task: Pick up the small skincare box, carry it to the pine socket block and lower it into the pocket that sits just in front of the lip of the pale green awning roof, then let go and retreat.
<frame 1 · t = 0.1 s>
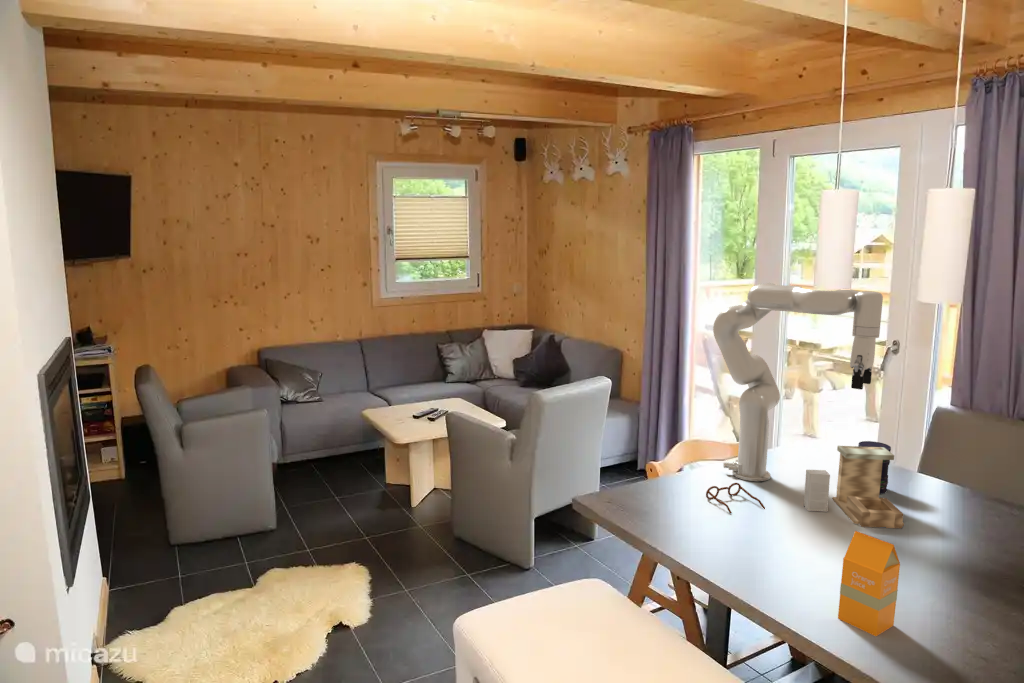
hand: (861, 386, 226), 37 cm above the table, tool pointing down, fingers open, 9 cm apart
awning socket: (873, 519, 217), on the table
orange juice: (865, 622, 162), on the table
skincare box: (814, 509, 225), on the table
glasses: (734, 506, 228), on the table
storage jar: (870, 489, 242), on the table
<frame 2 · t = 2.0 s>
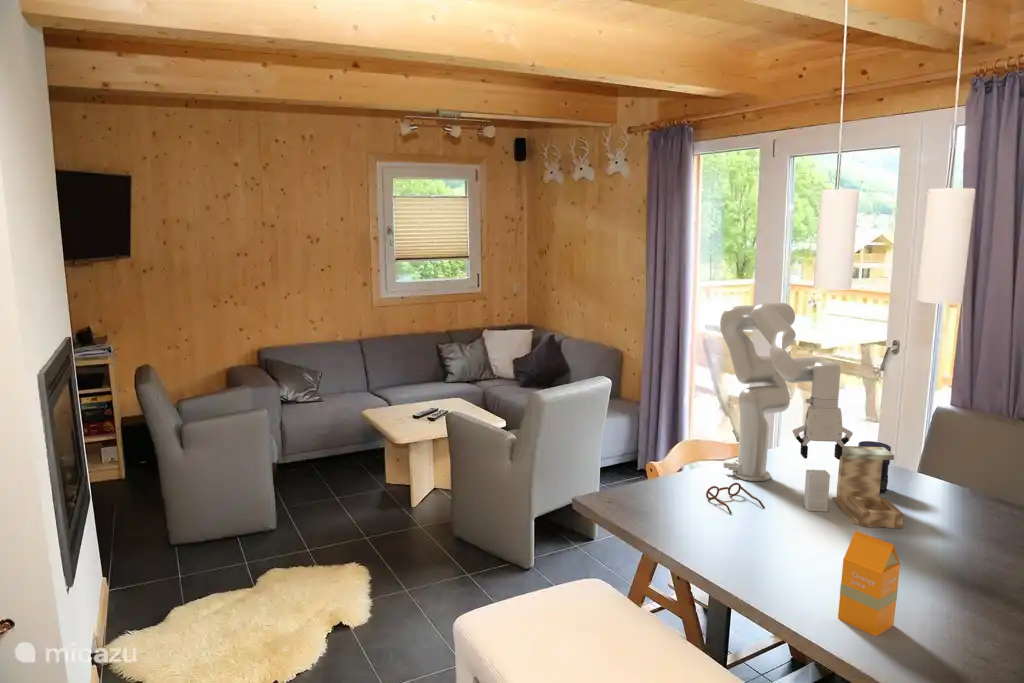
hand: (820, 457, 221), 17 cm above the table, tool pointing down, fingers open, 9 cm apart
nothing on the table moved.
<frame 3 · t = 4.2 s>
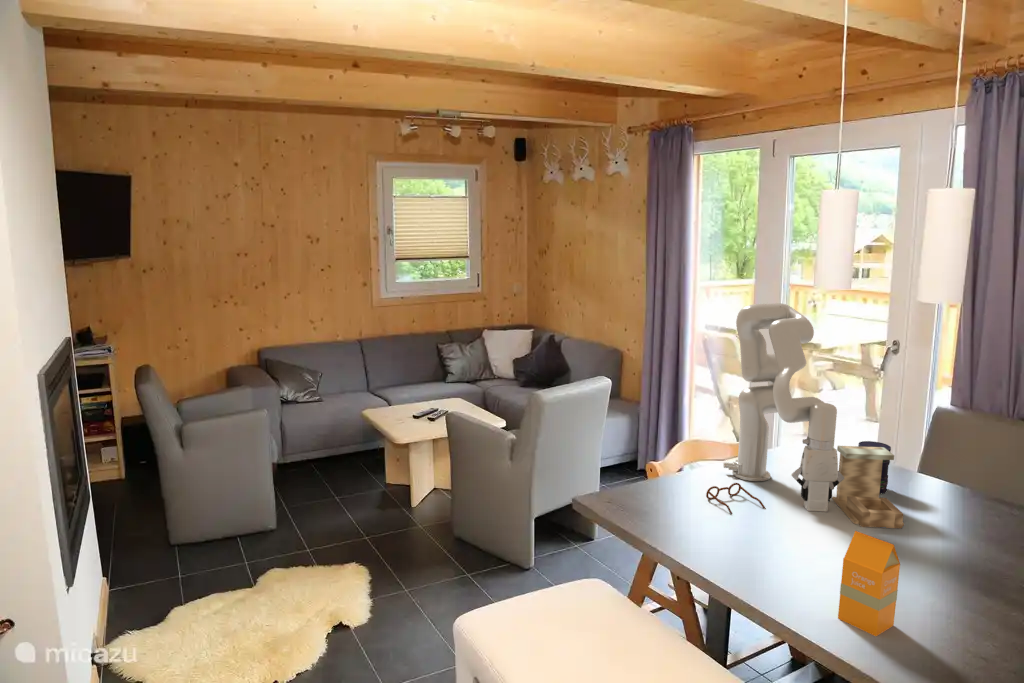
hand: (815, 499, 224), 3 cm above the table, tool pointing down, fingers closed on skincare box, 6 cm apart
skincare box: (814, 509, 225), on the table, touching gripper
everything else where it was.
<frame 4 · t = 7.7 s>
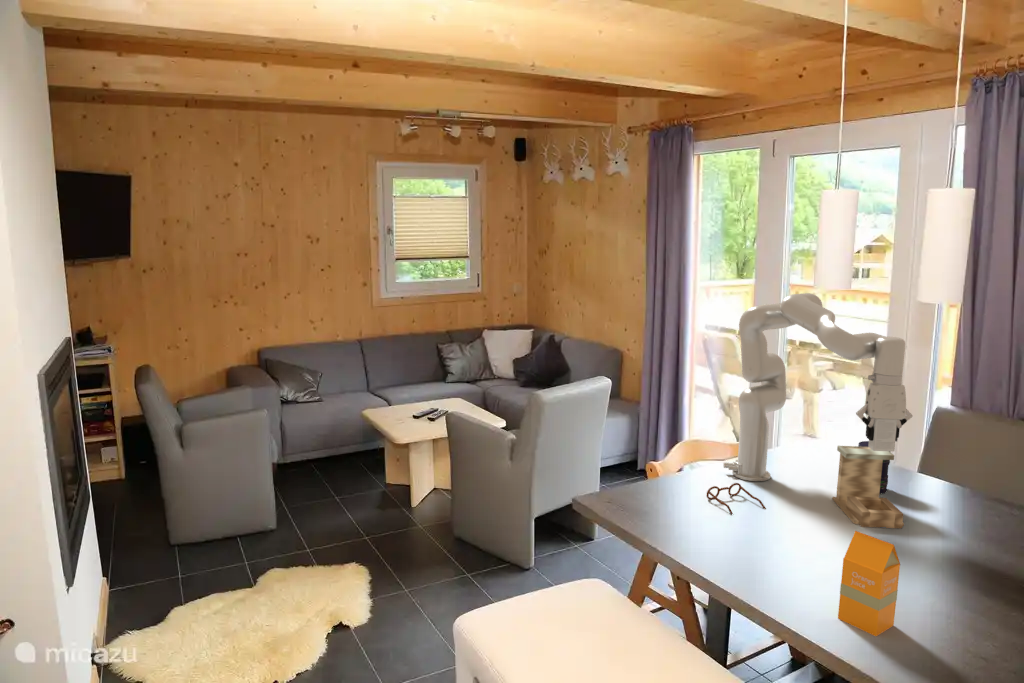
hand: (881, 439, 213), 25 cm above the table, tool pointing down, fingers closed on skincare box, 6 cm apart
skincare box: (880, 450, 213), point 22 cm above the table, touching gripper
everything else where it was.
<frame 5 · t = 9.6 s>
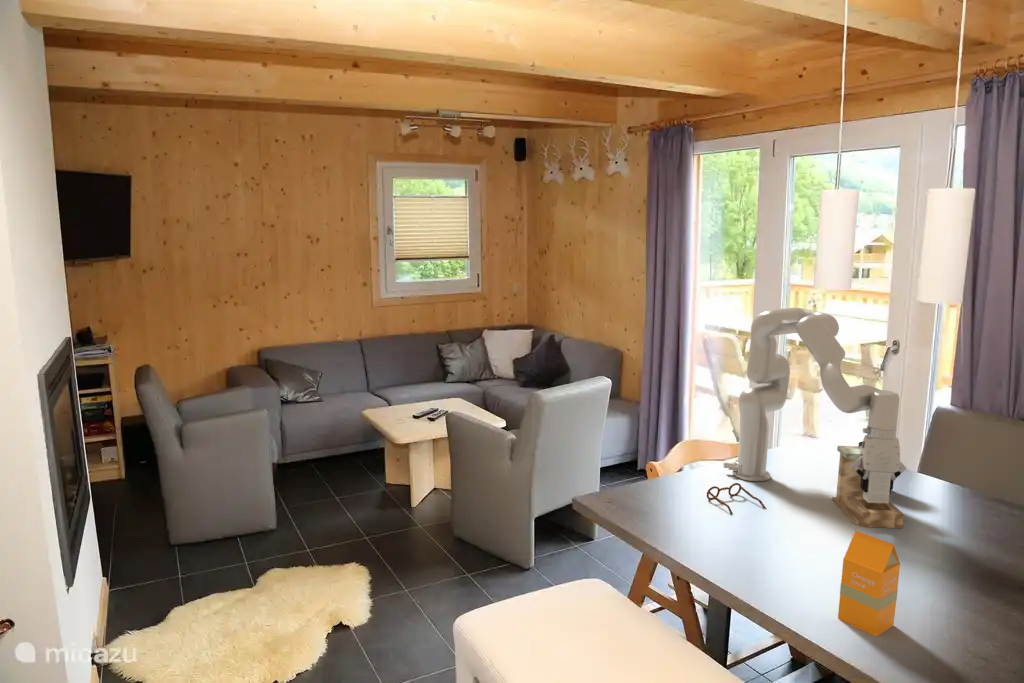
hand: (876, 490, 216), 9 cm above the table, tool pointing down, fingers closed on skincare box, 6 cm apart
skincare box: (875, 501, 216), point 6 cm above the table, touching gripper
everything else where it was.
when the fingers open (5 cm above the table, at t = 11.2 s): skincare box stays where it is, resting on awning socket.
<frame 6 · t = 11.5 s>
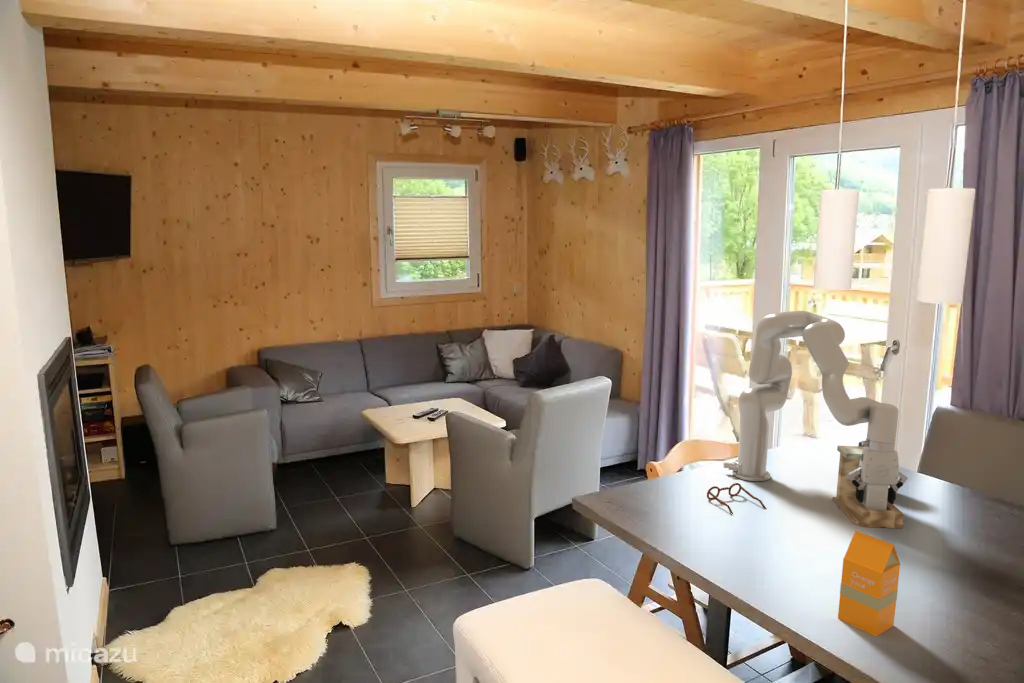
hand: (874, 501, 216), 6 cm above the table, tool pointing down, fingers open, 8 cm apart
skincare box: (872, 517, 217), point 1 cm above the table, touching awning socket
everything else where it was.
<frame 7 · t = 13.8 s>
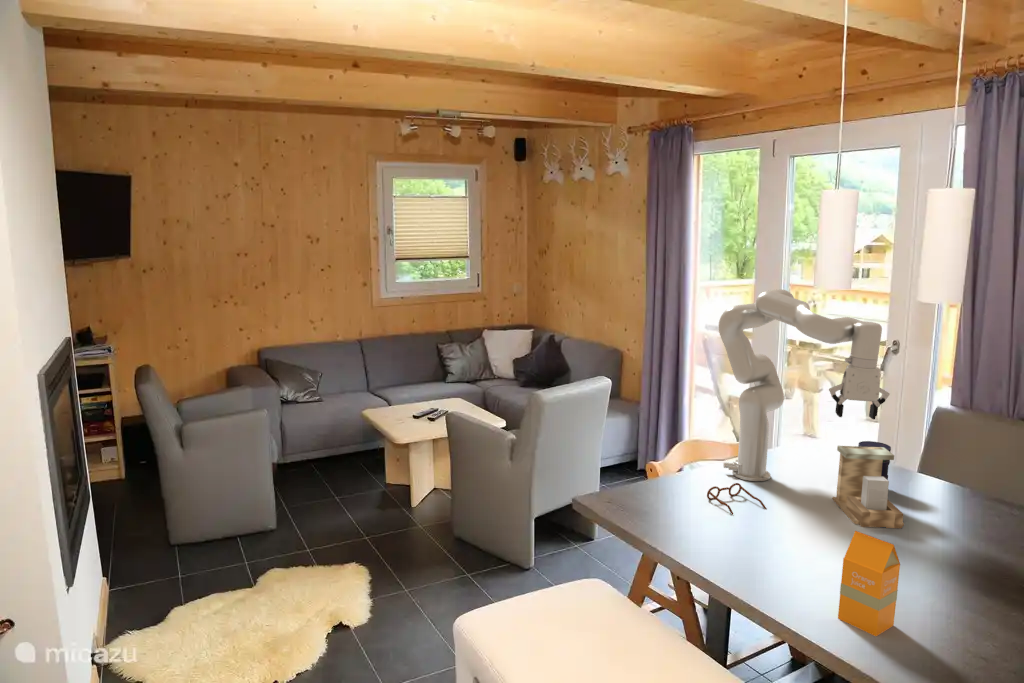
hand: (855, 417, 223), 29 cm above the table, tool pointing down, fingers open, 9 cm apart
nothing on the table moved.
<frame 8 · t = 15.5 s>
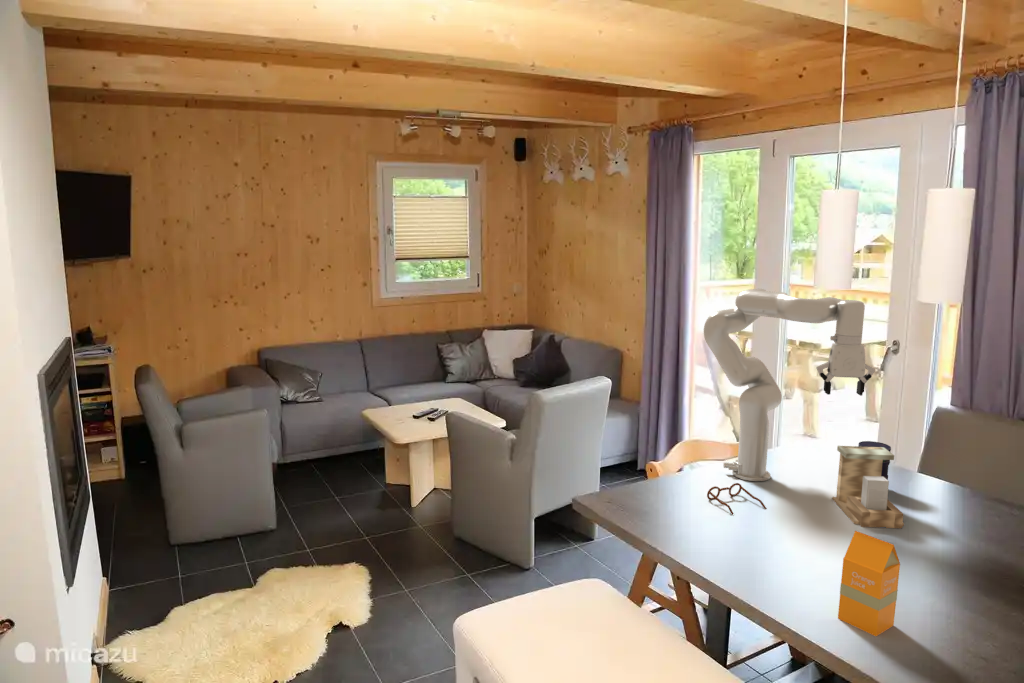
hand: (843, 394, 228), 34 cm above the table, tool pointing down, fingers open, 9 cm apart
nothing on the table moved.
at the end: skincare box 0.3 cm off-centre on the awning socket, point 0.6 cm above the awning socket's base; skincare box tilted 0°; the gripper is holding nothing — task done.
